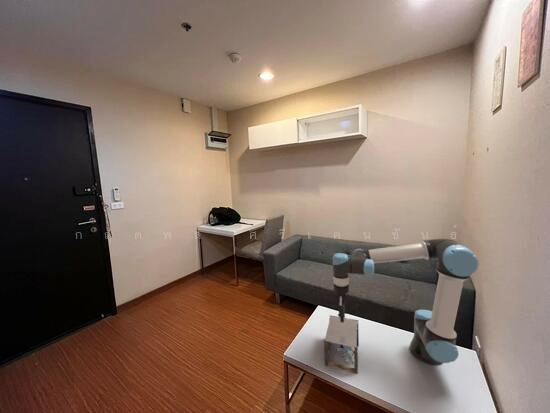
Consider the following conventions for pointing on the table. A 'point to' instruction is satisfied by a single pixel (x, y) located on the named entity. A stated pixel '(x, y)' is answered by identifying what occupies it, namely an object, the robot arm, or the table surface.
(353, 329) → the lid
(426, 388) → the table surface
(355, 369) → the housing
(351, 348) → the molecular model
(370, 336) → the table surface
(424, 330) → the robot arm
